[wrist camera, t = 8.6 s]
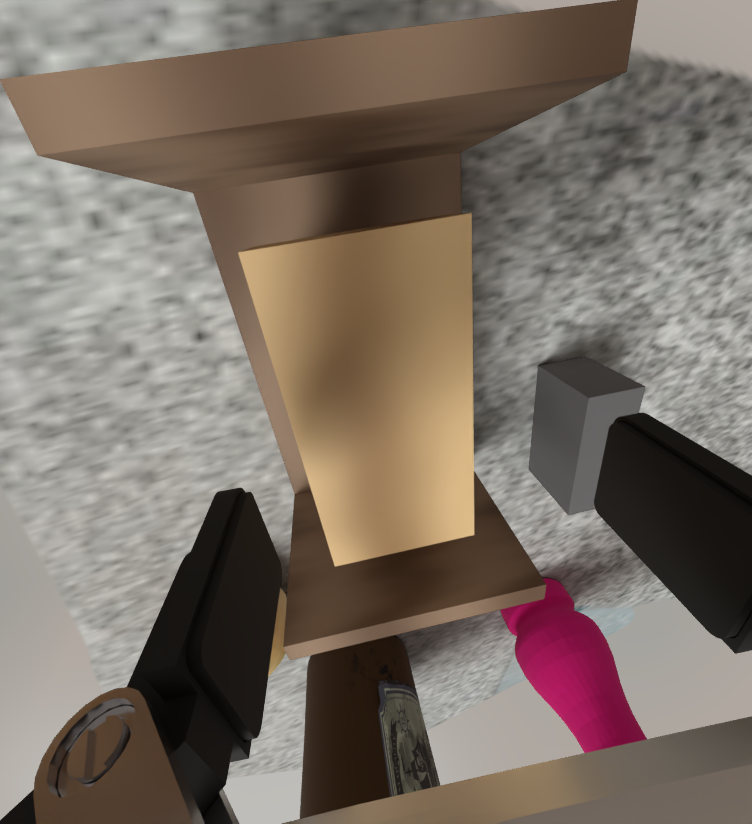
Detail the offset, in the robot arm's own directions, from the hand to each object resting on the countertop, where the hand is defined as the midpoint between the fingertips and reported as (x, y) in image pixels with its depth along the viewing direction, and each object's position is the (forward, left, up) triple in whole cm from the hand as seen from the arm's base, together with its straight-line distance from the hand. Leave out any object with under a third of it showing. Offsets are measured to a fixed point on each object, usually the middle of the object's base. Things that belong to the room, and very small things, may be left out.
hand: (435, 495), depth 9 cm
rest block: (-11, +7, -12) cm, 17 cm away
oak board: (+1, 0, -6) cm, 6 cm away
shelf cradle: (+1, 0, -12) cm, 12 cm away
